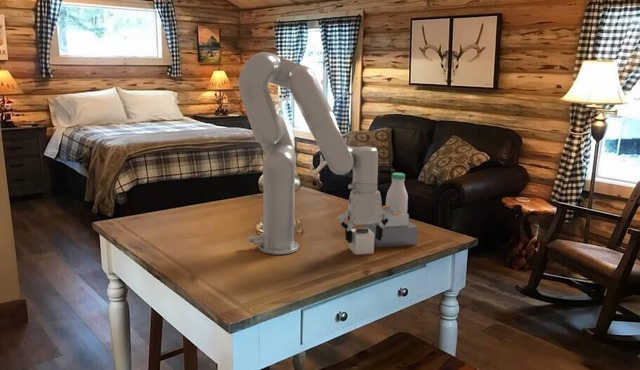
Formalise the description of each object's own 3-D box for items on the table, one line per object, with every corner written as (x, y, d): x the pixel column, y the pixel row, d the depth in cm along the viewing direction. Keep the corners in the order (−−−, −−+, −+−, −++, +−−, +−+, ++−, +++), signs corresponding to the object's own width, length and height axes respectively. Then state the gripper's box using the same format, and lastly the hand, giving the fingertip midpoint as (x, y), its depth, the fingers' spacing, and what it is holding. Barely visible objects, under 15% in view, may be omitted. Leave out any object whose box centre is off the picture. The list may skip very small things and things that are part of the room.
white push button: (355, 254, 169) (356, 232, 167) (349, 248, 175) (350, 226, 173) (373, 253, 171) (374, 231, 169) (366, 247, 176) (367, 225, 175)
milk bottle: (405, 232, 192) (409, 176, 188) (383, 230, 194) (386, 175, 189) (406, 226, 200) (410, 172, 195) (385, 224, 201) (388, 170, 197)
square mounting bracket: (376, 247, 176) (378, 215, 174) (363, 235, 187) (365, 205, 185) (422, 244, 180) (424, 213, 178) (407, 233, 192) (409, 203, 189)
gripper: (341, 191, 162) (341, 246, 166) (396, 188, 167) (394, 241, 171) (334, 186, 169) (333, 239, 173) (386, 183, 174) (385, 234, 178)
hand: (363, 240), depth 172 cm, fingers open, 9 cm apart
